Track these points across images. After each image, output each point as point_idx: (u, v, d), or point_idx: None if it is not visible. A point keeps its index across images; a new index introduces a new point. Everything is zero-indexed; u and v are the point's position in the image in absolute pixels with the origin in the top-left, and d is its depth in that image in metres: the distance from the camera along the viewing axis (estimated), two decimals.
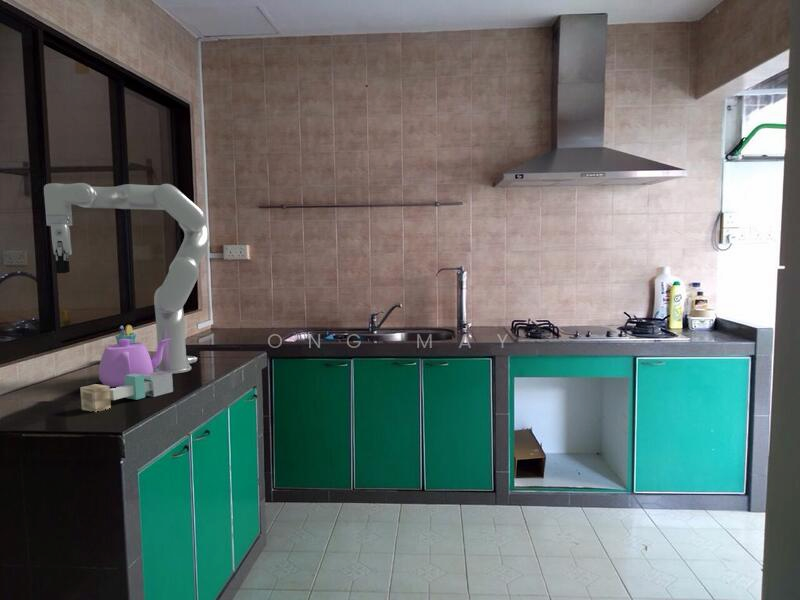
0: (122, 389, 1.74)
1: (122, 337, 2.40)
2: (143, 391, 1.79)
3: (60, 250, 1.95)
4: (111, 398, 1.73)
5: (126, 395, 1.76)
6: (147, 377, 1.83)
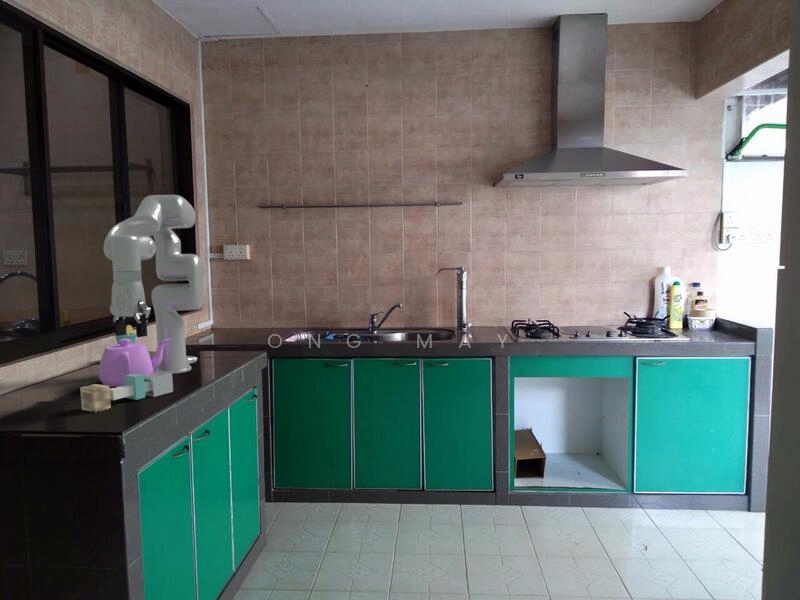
0: (122, 389, 1.74)
1: (122, 337, 2.40)
2: (143, 391, 1.79)
3: None
4: (111, 398, 1.73)
5: (126, 395, 1.76)
6: (147, 377, 1.83)
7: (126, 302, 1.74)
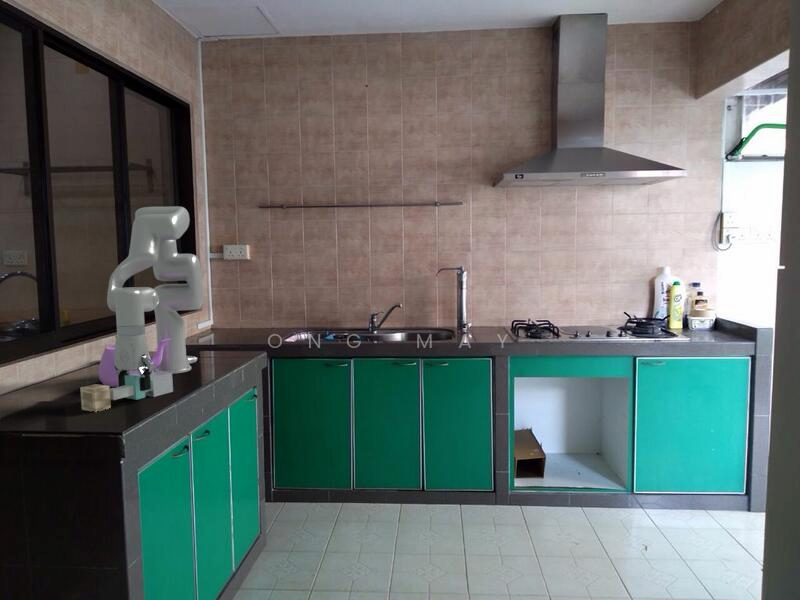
0: (122, 389, 1.74)
1: None
2: (143, 391, 1.79)
3: None
4: (111, 398, 1.73)
5: (126, 395, 1.76)
6: None
7: (130, 356, 1.75)
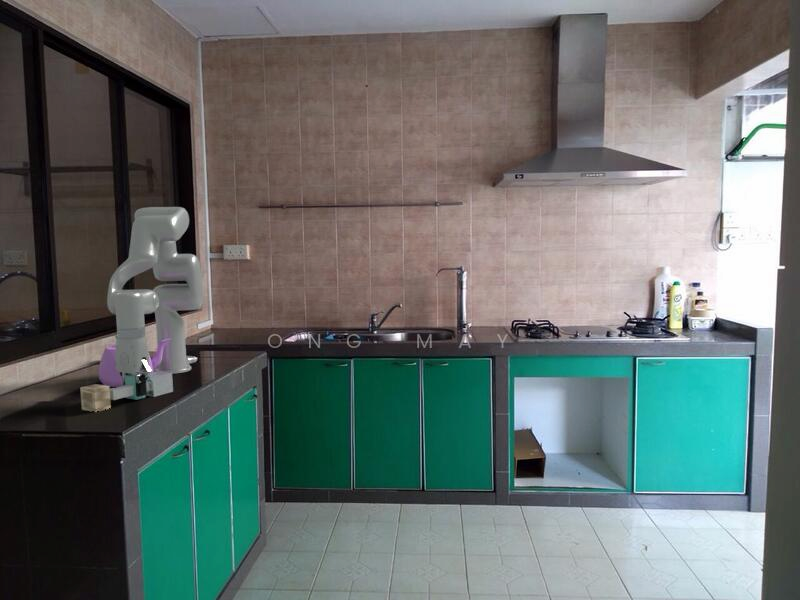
0: (122, 389, 1.74)
1: None
2: None
3: None
4: (111, 398, 1.73)
5: (126, 395, 1.76)
6: None
7: (130, 359, 1.75)
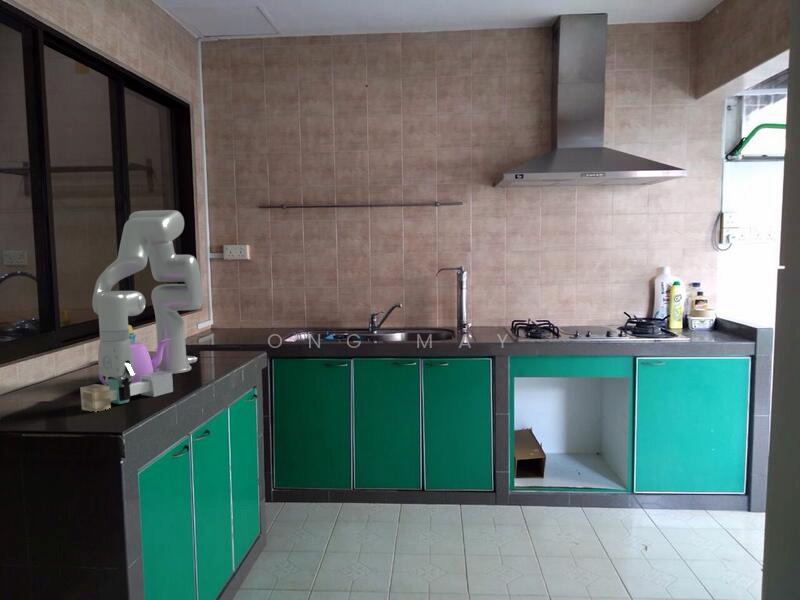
0: None
1: None
2: None
3: None
4: None
5: None
6: (147, 377, 1.83)
7: (113, 362, 1.70)
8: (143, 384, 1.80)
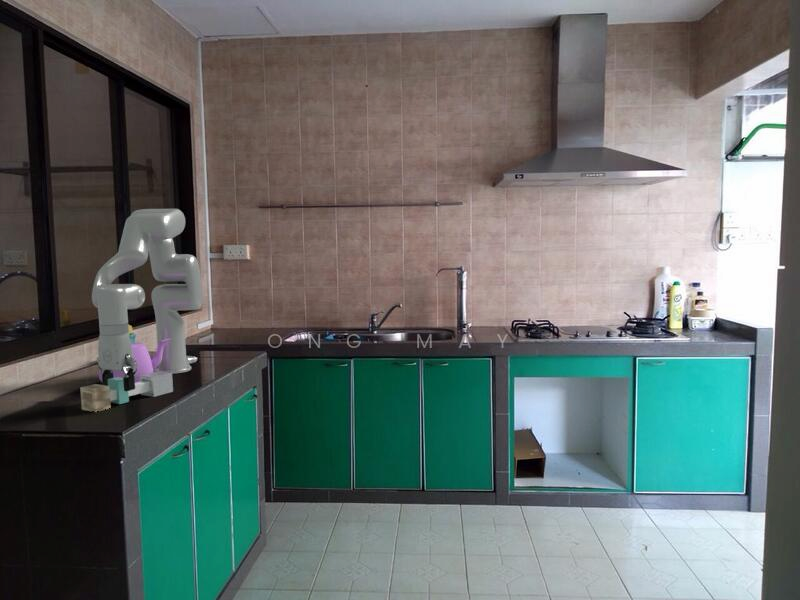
0: None
1: None
2: (127, 395, 1.75)
3: None
4: None
5: None
6: (147, 377, 1.83)
7: (113, 356, 1.71)
8: (143, 384, 1.80)
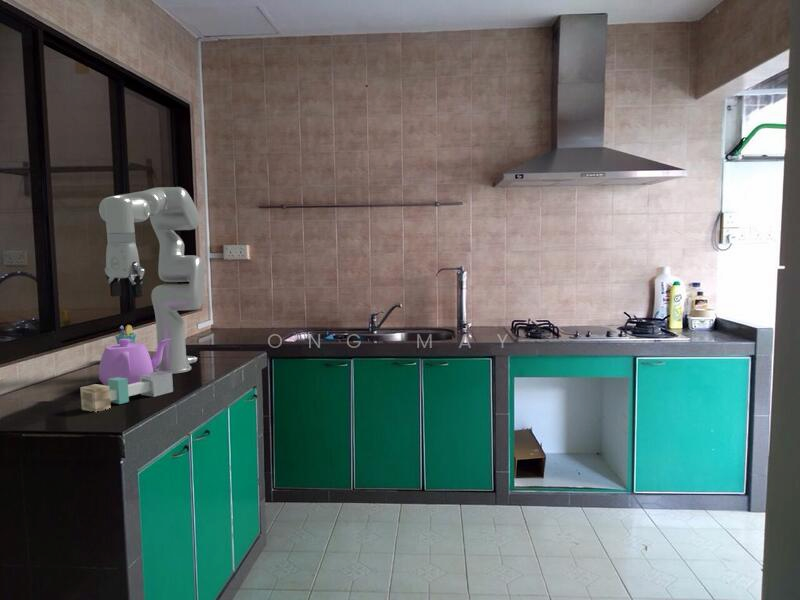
0: None
1: (122, 337, 2.40)
2: (127, 395, 1.75)
3: None
4: None
5: None
6: (147, 377, 1.83)
7: (120, 263, 1.77)
8: (143, 384, 1.80)
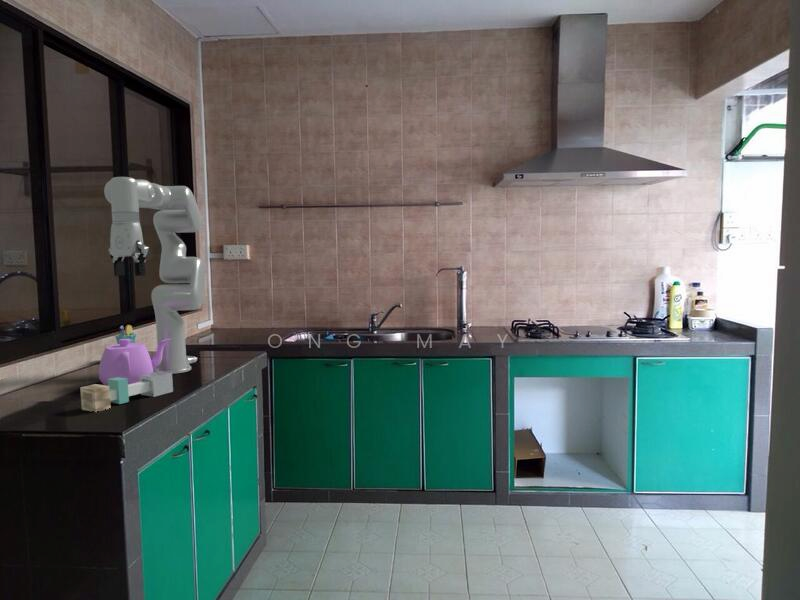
0: None
1: (122, 337, 2.40)
2: (127, 395, 1.75)
3: None
4: None
5: None
6: (147, 377, 1.83)
7: (125, 242, 1.79)
8: (143, 384, 1.80)
